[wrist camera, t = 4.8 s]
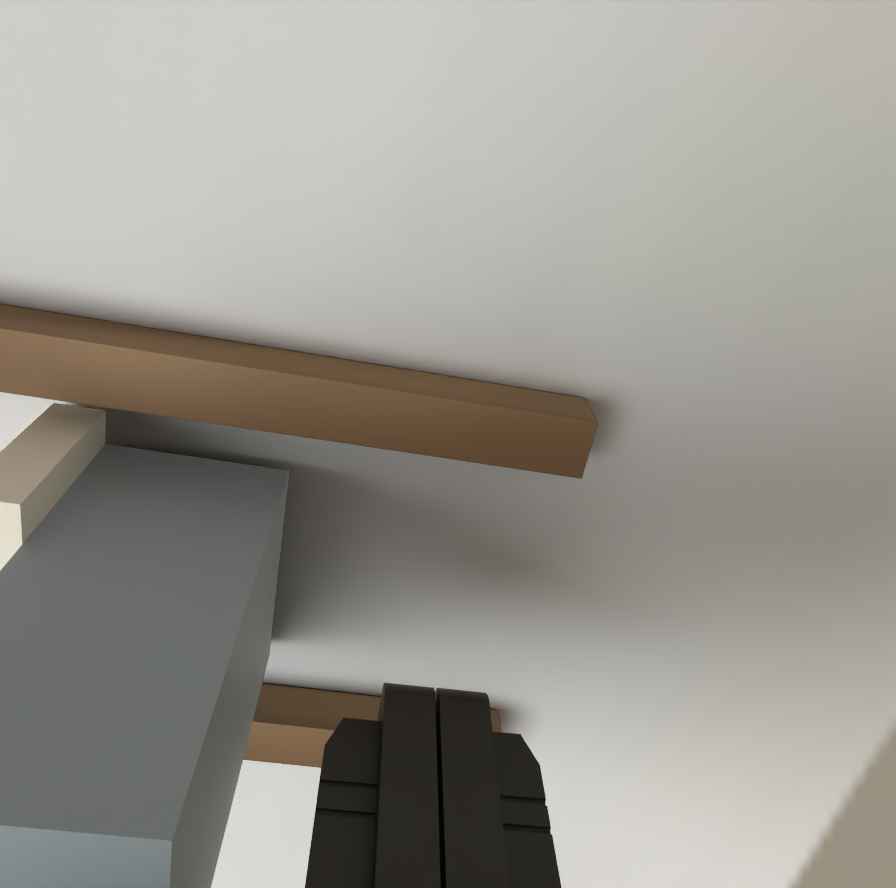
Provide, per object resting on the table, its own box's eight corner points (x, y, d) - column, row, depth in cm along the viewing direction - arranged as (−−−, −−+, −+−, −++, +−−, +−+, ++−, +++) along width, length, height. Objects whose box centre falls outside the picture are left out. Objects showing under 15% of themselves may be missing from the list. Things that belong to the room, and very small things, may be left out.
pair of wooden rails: (-636, 201, 11) (-729, 213, 10) (586, 397, 13) (598, 422, 12) (-462, 642, 14) (-521, 680, 14) (488, 745, 16) (492, 785, 16)
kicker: (54, 402, 12) (-319, 744, 6) (292, 438, 13) (173, 793, 7) (61, 655, 15) (-207, 1099, 8) (266, 679, 15) (157, 1118, 9)
